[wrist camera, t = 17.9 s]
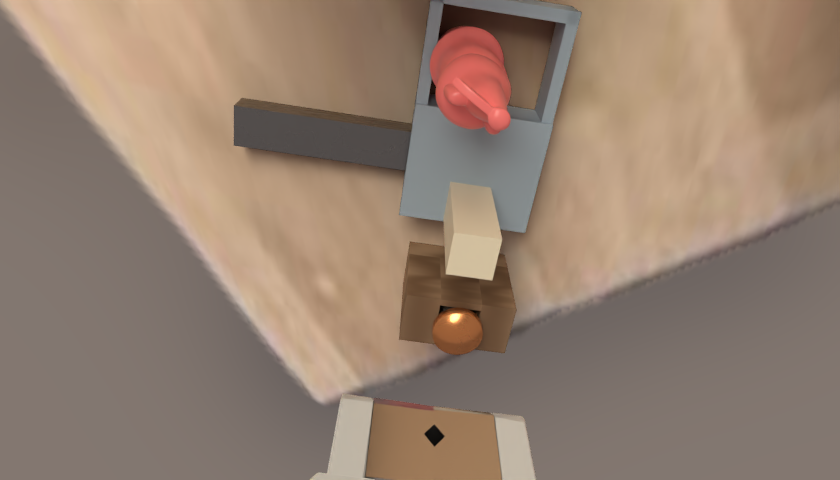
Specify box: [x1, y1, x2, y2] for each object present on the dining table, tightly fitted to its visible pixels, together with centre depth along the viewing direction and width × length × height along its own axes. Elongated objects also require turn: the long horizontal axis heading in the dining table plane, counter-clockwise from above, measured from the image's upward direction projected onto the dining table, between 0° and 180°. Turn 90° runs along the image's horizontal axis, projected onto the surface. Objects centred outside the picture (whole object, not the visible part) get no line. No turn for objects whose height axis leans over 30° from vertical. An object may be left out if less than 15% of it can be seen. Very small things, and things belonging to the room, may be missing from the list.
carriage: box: [399, 0, 581, 280], centre depth 40 cm, size 10×16×11 cm, turn 171°
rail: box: [234, 98, 412, 171], centre depth 46 cm, size 22×3×2 cm, turn 81°
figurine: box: [430, 26, 511, 135], centre depth 37 cm, size 5×5×15 cm
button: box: [432, 306, 483, 355], centre depth 47 cm, size 4×4×7 cm
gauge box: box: [399, 242, 516, 353], centre depth 48 cm, size 8×4×8 cm, turn 81°
